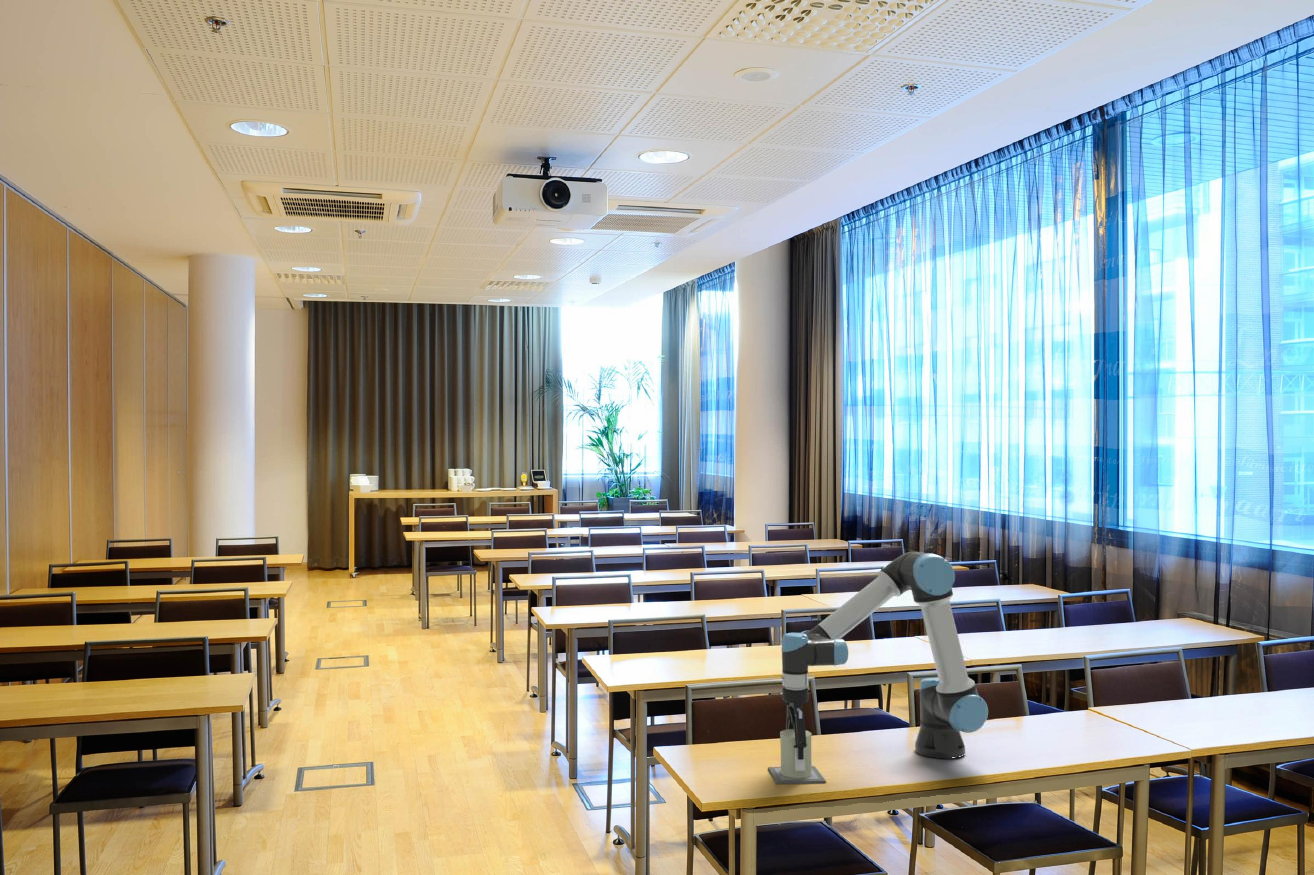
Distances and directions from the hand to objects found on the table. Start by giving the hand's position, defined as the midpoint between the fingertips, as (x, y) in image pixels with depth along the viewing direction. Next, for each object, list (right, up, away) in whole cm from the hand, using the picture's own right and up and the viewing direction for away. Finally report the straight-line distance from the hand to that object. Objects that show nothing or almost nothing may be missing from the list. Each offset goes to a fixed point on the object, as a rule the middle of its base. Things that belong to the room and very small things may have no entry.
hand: (796, 764), depth 273 cm
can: (0, -3, 0) cm, 3 cm away
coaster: (0, -3, 0) cm, 3 cm away
